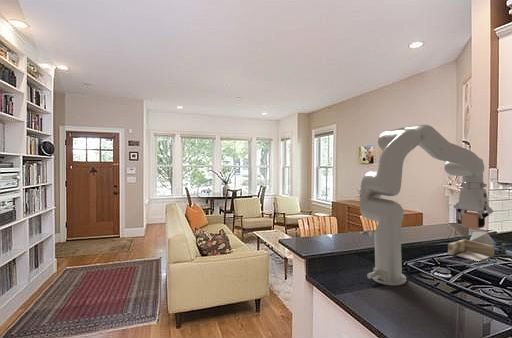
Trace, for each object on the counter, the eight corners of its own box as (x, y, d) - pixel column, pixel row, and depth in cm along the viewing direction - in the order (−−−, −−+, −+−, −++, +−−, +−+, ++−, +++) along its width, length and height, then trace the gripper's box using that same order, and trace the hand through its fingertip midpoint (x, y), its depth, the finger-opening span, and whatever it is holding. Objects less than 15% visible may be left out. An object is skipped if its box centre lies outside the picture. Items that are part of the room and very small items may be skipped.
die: (490, 248, 142) (475, 230, 146) (502, 244, 134) (486, 225, 138) (476, 256, 141) (461, 237, 145) (487, 253, 133) (471, 233, 137)
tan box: (477, 263, 124) (477, 251, 124) (448, 254, 135) (447, 243, 135) (494, 256, 130) (494, 245, 130) (464, 248, 141) (464, 238, 141)
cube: (484, 227, 129) (484, 213, 129) (476, 229, 127) (476, 215, 126) (469, 224, 135) (469, 211, 134) (461, 226, 132) (461, 213, 132)
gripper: (500, 186, 123) (500, 228, 124) (457, 183, 139) (457, 220, 140) (490, 188, 120) (490, 231, 121) (447, 184, 135) (448, 222, 137)
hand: (472, 224), depth 130 cm, fingers closed on cube, 6 cm apart
